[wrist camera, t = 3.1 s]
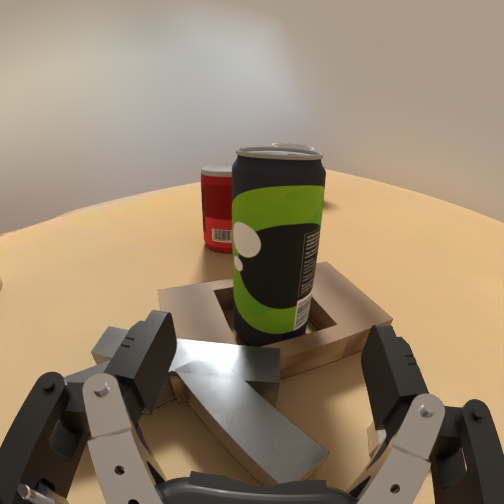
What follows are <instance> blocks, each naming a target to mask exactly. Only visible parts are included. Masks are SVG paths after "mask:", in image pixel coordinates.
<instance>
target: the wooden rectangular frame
mask: <svg viewBox="0 0 504 504" xmlns="http://www.w3.org/2000/svg"><path fill="white" fill-rule="evenodd" d="M158 296H159V305H160V311H163V312H170V313H171V314H172V318H173V323H174V328H175V333H176V338H179V339H186V340H194V341H202V342H211V343H220V344H230V345H237V343H236V341H235V339H234V337H233V334H232V332H231V330H230V328H229V325H228V323H227V321H226V319H225V316H224V314H223V312H222V310H228V309H233V308H234V294H233V278H230V279H224V280H218V281H211V282H205V283H199V284H192V285H186V286H180V287H173V288H166V289H160V290H158ZM308 318H309V319H310V321H311V322H312V323H313V324H314V326H315V327H316V328H317V329H318V330H319V331H316V332H313V333H309V334H306V335H302V336H299V337H295V338H292V339H288V340H284V341H281V342H277V343H273V344H269V345H265V346H261V347H269V348H280V378H279V380H280V379H283V378H286V377H290V376H293V375H296V374H299V373H302V372H305V371H308V370H311V369H314V368H317V367H319V366H322V365H325V364H328V363H330V362H333V361H336V360H338V359H341V358H344V357H346V356H349V355H351V354H354V353H356V352H358V351H361V350H363V349H364V346H365V343H366V340H367V338H368V335H369V332H370V329H371V327H372V326H373V325H391V323H392V320H393V318H392V317H391V316H389V315H388V314H387V313H386V312H385V311H384V310H383V309H381V308H380V307H379V306H378V305H377V304H376V303H375V302H373V301H372V300H371V299H370V298H369V297H368V296H367V295H365V294H364V293H363V292H362V291H361V290H360V289H358V288H357V287H356V286H355V285H354V284H353V283H351V282H350V281H349V280H348V279H347V278H345V277H344V276H343V275H342V274H341V273H340V272H338V271H337V270H336V269H335V268H334V267H332V266H331V265H330V264H329V263H328V262H322V263H316V269H315V276H314V283H313V289H312V296H311V302H310V309H309V315H308ZM170 378H171V383H172V386H173V389H174V392H175V395H176V398H177V401H178V403H182V402H187V400H186V397H185V394H184V390H183V387H182V383H181V380H180V379H179V378H178V376H171V377H170Z"/></svg>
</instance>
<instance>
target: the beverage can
mask: <svg viewBox="0 0 504 504" xmlns="http://www.w3.org/2000/svg"><path fill="white" fill-rule="evenodd" d="M236 154H237V155H238V157H237V160H236V161H235V162H234V163H233V165H232V245H233V294H234V325H235V329H236V331H237V333H238V335H239V336H240V337H241V338H242V339H243V340H245V341H246V342H247V343H249V344H250V345H252V346H254V347H261V346H265V345H269V344H273V343H277V342H281V341H284V340H288V339H292V338H295V337H299V336H302V335H304V333H305V331H306V326H307V321H308V315H309V309H310V302H311V296H312V289H313V283H314V276H315V269H316V261H317V254H318V246H319V237H320V229H321V220H322V210H323V200H324V189H325V177H326V171H325V169H324V167H323V166H322V163H321V159H322V158H323V154H322V153H320V152H317V151H312V150H306V149H298V148H287V147H246V148H239V149H236Z"/></svg>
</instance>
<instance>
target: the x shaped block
mask: <svg viewBox="0 0 504 504" xmlns="http://www.w3.org/2000/svg"><path fill="white" fill-rule="evenodd" d="M128 331H129V330H125V329H120V328H115V327H110V326H109V327H108V328H107V329H106V331H105V332H104V334H103V335H102V337H101V338H100V339H99V341H98V342H97V344H96V345H95V347H94V348H93V350H92V351H91V353H92V355H93V358H94V360H95V362H96V364H97V365H96V366H93V367H91V368H88V369H85V370H83V371H80V372H77V373H75V374H72V375H69V376H66V377H63V378H64V380H65V381H66V382H79V383H85V382H86V380H87V379H88V378H90V377H91V376H93V375H95V374H99V373H103V372H104V371H105V369H106V367H107V366H108V364H109V362H110V361H111V359H112V357H113V356H114V354H115V352H116V351H117V349H118V347H119V346H121V342H122V341H123V339H125V336H126V334H127V333H128ZM171 376H178V378H179V379H180V380H181V383H182V387H183V390H184V394H185V397H186V400H187V403H188V404H189V405H190V406H191V408H192V409H193V410H194V411H195V413H196V414H197V415H198V416H199V418H200V419H201V420H202V421H203V422H204V424H205V425H206V426H207V427H208V428H209V430H210V431H211V432H212V433H213V434H214V435H215V436H216V438H217V439H218V440H219V441H220V442H221V443H222V444H223V445H224V447H225V448H226V449H227V450H228V451H229V452H230V453H231V454H232V455H233V456H234V457H235V458H236V459H237V460H238V461H239V463H240V464H241V465H242V466H243V467H244V468H245V469H246V470H247V471H248V472H249V473H250V474H251V475H252V476H254V477H255V478H256V479H257V480H258V481H259V482H260V483H261V484H262V485H263V486H270V485H276V484H281V483H286V482H291V481H305V480H306V479H308V478H309V477H310V476H311V475H312V474H313V473H315V472H316V471H317V470H318V469H319V467H320V466H321V464H322V463H323V461H324V460H325V458H326V457H327V455H328V454H329V452H328V451H327V450H326V449H324V448H323V447H322V446H320V445H319V444H318V443H317V442H315V441H314V440H313V439H311V438H310V437H309V436H308V435H306V434H305V433H304V432H303V431H301V430H300V429H299V428H298V427H297V426H295V425H294V424H293V423H292V422H291V421H289V420H288V419H287V418H286V417H285V416H283V415H282V414H281V413H280V412H279V411H278V410H276V409H275V408H276V402H277V395H278V388H279V378H280V348H269V347H254V346H241V345H230V344H220V343H211V342H202V341H194V340H186V339H179V338H177V350H176V354H175V356H174V359H173V361H172V364H171V366H170V369H169V371H168V374H167V376H166V379H165V381H164V384H163V386H162V389H161V391H160V394H159V396H158V399H157V401H156V404H155V406H154V408H157V407H159V406H161V405H163V404H165V403H167V402H169V401H172V400H174V399H176V395H175V392H174V389H173V386H172V383H171V378H170V377H171ZM141 414H143V413H141ZM57 423H58V421H57ZM57 423H56V425H57ZM56 425H55V427H56ZM55 427H54V429H55ZM53 431H54V430H53ZM52 433H53V432H52ZM51 435H52V434H51ZM90 435H91V433H90Z"/></svg>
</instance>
